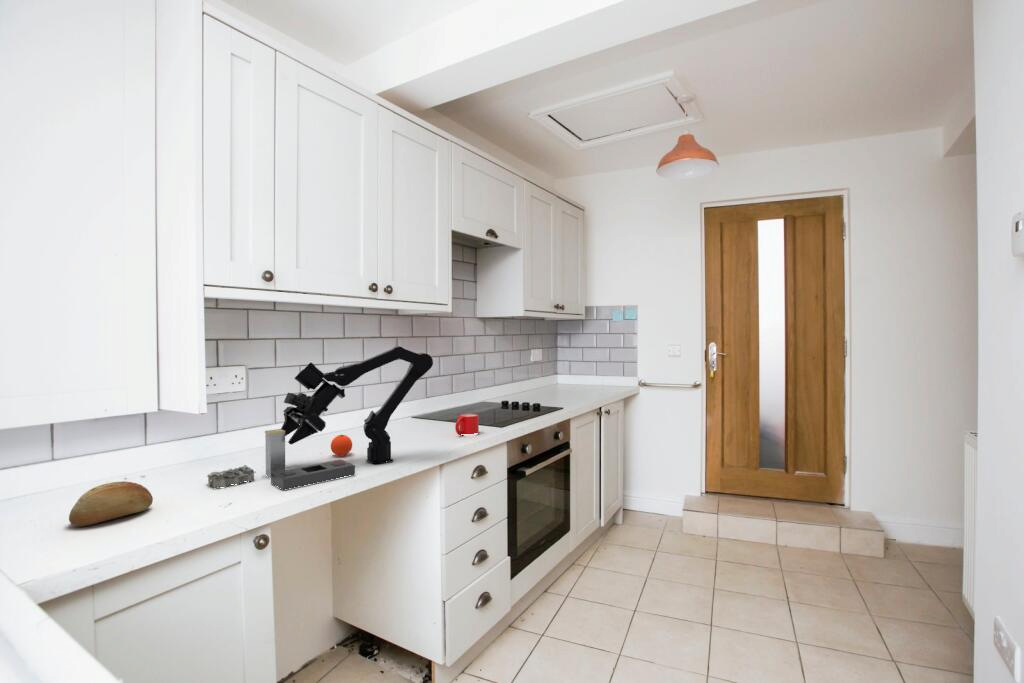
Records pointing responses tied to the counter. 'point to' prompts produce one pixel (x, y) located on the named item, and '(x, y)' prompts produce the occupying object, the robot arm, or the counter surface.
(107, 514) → the bread roll
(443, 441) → the counter surface
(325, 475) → the rack rail
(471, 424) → the mug
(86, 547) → the counter surface
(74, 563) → the counter surface
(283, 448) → the square bar
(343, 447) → the clementine
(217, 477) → the egg carton
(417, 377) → the robot arm
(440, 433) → the counter surface
